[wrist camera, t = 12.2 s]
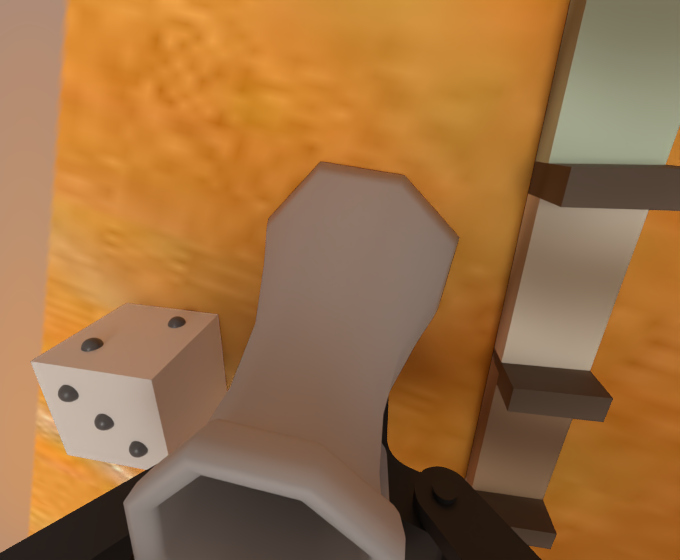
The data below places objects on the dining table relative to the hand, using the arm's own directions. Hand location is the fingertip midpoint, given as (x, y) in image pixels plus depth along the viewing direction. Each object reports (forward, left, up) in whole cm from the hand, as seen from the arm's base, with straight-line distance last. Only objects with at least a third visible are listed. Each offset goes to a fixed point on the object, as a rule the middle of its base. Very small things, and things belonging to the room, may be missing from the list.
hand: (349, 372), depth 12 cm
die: (-1, +9, -2) cm, 9 cm away
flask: (+4, 0, -2) cm, 4 cm away
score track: (0, -7, -2) cm, 7 cm away
